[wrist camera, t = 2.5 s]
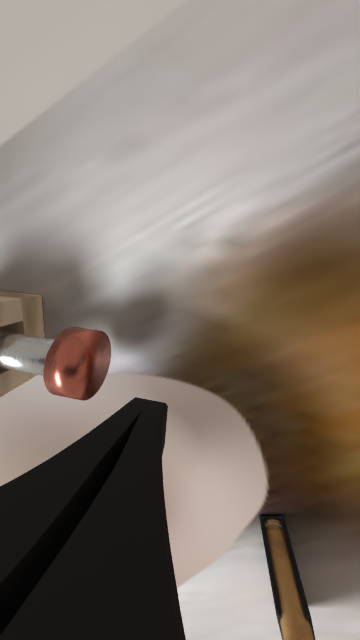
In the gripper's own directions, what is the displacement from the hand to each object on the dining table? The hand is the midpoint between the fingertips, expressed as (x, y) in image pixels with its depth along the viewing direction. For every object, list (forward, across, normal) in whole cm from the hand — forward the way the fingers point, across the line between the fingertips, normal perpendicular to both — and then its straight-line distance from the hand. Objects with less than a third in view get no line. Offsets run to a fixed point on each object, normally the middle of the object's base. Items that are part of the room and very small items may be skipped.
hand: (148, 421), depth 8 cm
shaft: (+6, +9, 0) cm, 10 cm away
